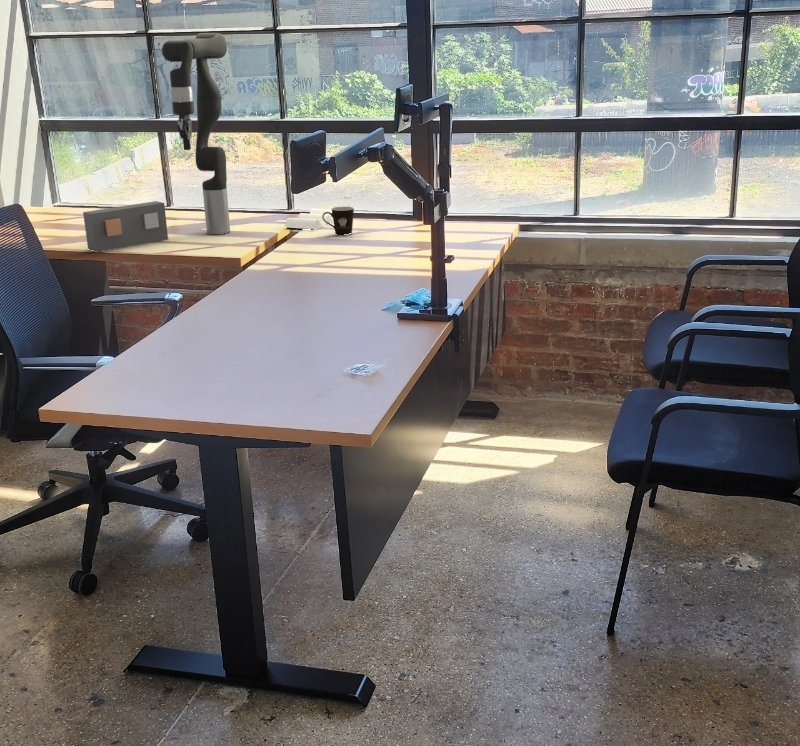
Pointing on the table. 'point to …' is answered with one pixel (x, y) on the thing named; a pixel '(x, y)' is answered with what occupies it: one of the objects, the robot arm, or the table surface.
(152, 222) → the grey plunger
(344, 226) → the coffee mug
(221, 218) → the robot arm
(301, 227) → the file organizer
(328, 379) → the table surface
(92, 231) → the press panel
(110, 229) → the terracotta plunger
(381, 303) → the table surface
